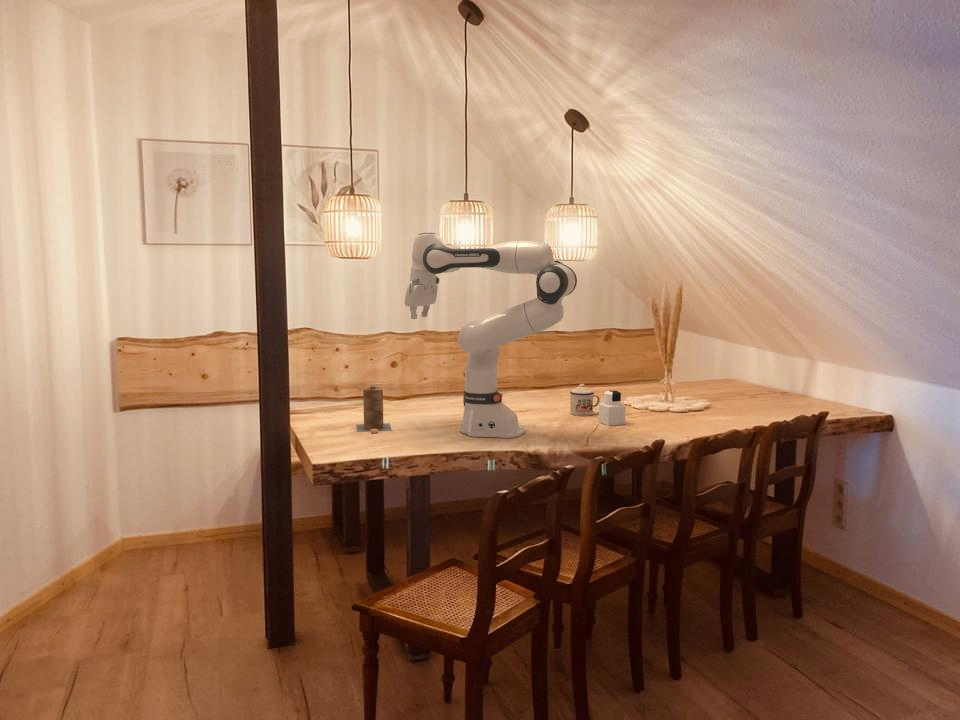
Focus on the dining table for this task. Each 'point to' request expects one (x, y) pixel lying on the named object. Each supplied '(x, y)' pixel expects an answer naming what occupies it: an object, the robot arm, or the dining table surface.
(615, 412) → the medicine bottle
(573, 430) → the dining table surface
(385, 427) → the mat
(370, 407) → the brown cylindrical container
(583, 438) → the dining table surface
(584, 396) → the teacup with lid
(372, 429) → the bowl
